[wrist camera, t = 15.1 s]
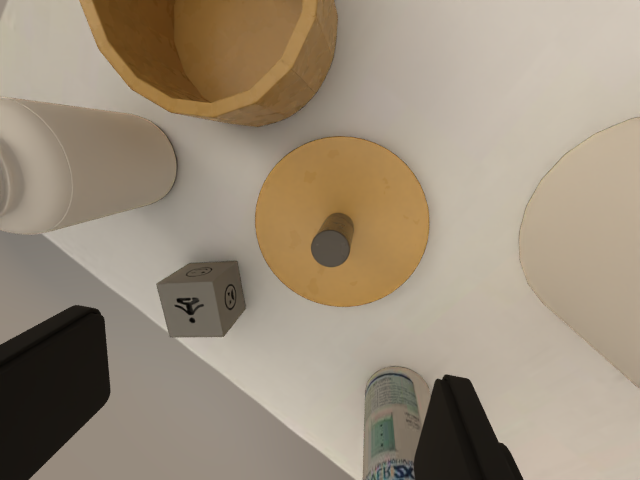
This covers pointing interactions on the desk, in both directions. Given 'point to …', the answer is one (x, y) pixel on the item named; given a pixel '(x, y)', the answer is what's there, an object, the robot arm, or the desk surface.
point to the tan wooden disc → (342, 221)
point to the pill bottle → (76, 165)
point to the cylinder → (591, 243)
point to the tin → (219, 53)
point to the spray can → (393, 423)
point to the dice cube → (202, 299)
